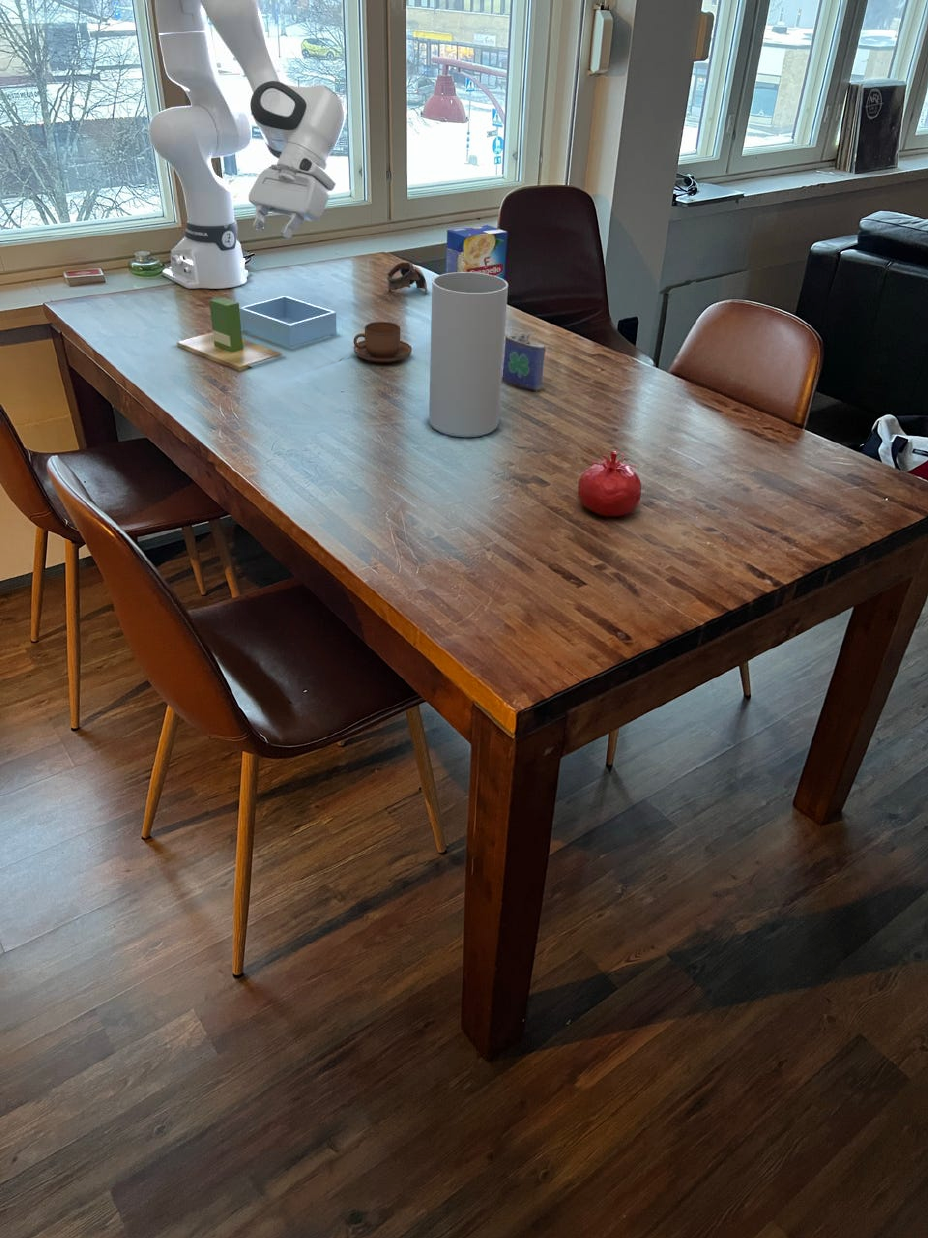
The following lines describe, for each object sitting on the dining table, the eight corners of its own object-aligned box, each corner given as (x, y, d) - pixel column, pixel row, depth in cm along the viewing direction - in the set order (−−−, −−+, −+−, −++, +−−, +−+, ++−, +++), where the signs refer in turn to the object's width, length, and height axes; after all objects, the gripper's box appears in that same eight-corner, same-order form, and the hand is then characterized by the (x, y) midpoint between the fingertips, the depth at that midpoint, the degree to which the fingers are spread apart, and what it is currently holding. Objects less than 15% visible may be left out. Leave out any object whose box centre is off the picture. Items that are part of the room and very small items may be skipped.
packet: (213, 346, 192) (208, 299, 187) (226, 342, 194) (221, 296, 189) (231, 352, 189) (226, 305, 184) (243, 349, 191) (239, 302, 186)
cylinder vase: (464, 405, 175) (470, 268, 160) (512, 426, 167) (523, 284, 153) (414, 422, 167) (416, 279, 153) (463, 445, 160) (470, 298, 146)
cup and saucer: (377, 371, 187) (376, 341, 183) (342, 354, 194) (341, 324, 191) (423, 359, 194) (423, 330, 190) (388, 343, 201) (388, 314, 197)
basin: (241, 332, 203) (238, 307, 200) (286, 319, 211) (285, 295, 208) (291, 350, 195) (290, 325, 192) (336, 336, 203) (336, 311, 200)
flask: (544, 389, 183) (548, 335, 177) (535, 393, 181) (539, 339, 175) (507, 377, 187) (510, 324, 181) (498, 381, 186) (501, 327, 179)
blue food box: (500, 334, 209) (507, 231, 196) (461, 342, 203) (466, 237, 190) (482, 326, 213) (487, 224, 200) (443, 333, 208) (446, 229, 195)
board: (177, 346, 194) (176, 341, 193) (219, 334, 201) (218, 330, 200) (240, 371, 184) (239, 366, 183) (282, 357, 191) (281, 353, 190)
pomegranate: (595, 528, 138) (603, 472, 133) (563, 498, 146) (570, 443, 140) (651, 517, 142) (662, 462, 136) (617, 489, 149) (626, 435, 144)
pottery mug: (432, 299, 230) (418, 272, 224) (398, 314, 232) (383, 287, 226) (428, 273, 237) (414, 246, 231) (395, 288, 240) (380, 262, 234)
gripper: (258, 154, 192) (230, 216, 192) (320, 165, 180) (290, 231, 181) (279, 172, 197) (252, 232, 198) (341, 184, 185) (312, 248, 186)
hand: (271, 232), depth 189 cm, fingers open, 8 cm apart
